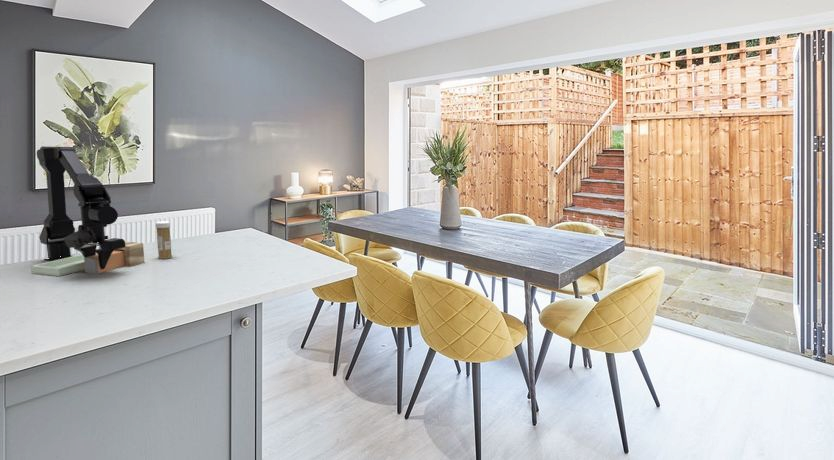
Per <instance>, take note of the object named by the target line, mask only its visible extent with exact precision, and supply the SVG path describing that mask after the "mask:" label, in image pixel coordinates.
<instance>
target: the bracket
mask: <svg viewBox="0 0 834 460" xmlns="http://www.w3.org/2000/svg"><path fill="white" fill-rule="evenodd" d="M124 241H125V240H124ZM125 246H126V247H124V248H119V249H120V250H124V252H125V264H126V265H125V267H134V266H136V265H140V264H143V263H145V251H144V242H137V241H125ZM115 250H118V249H115Z"/></svg>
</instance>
